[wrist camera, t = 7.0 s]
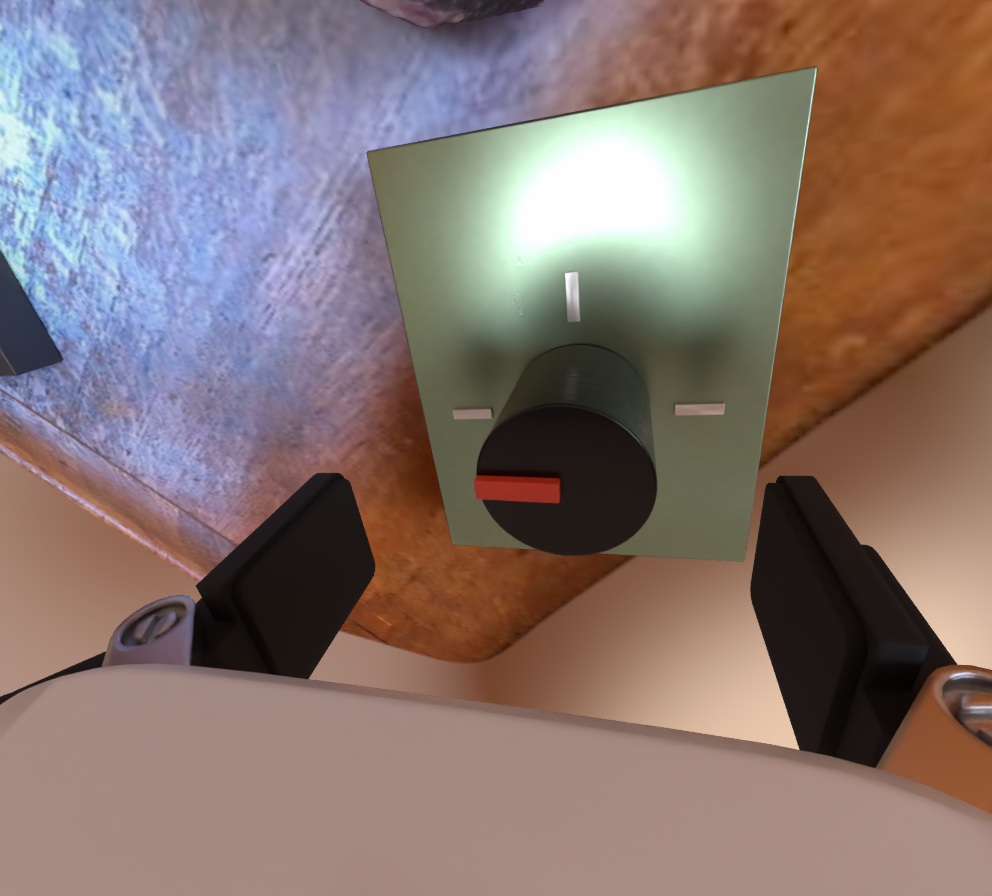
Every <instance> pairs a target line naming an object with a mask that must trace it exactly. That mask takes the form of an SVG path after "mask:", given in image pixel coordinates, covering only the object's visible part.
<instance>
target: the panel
mask: <svg viewBox="0 0 992 896" xmlns="http://www.w3.org/2000/svg"><path fill="white" fill-rule="evenodd" d="M817 71H818V68H817V66H812V67H807V68H802V69H797V70H791V71H786V72H781V73H776V74H770V75H765V76H760V77H755V78H749V79H744V80H739V81H734V82H728V83H723V84H718V85H713V86H707V87H702V88H697V89H691V90H686V91H681V92H676V93H670V94H665V95H660V96H655V97H649V98H644V99H639V100H634V101H628V102H623V103H618V104H613V105H607V106H602V107H597V108H592V109H586V110H581V111H576V112H571V113H565V114H560V115H555V116H550V117H544V118H539V119H534V120H529V121H523V122H518V123H513V124H508V125H502V126H497V127H492V128H487V129H481V130H476V131H471V132H466V133H460V134H455V135H450V136H445V137H439V138H434V139H429V140H424V141H418V142H413V143H408V144H403V145H397V146H392V147H387V148H382V149H376V150H371V151H368V152H367V153H366V154H367V159H368V163H369V168H370V172H371V177H372V181H373V186H374V190H375V195H376V200H377V204H378V209H379V213H380V218H381V222H382V227H383V231H384V236H385V240H386V245H387V250H388V254H389V259H390V263H391V268H392V272H393V277H394V281H395V286H396V290H397V295H398V300H399V304H400V309H401V313H402V318H403V322H404V327H405V331H406V336H407V340H408V345H409V350H410V354H411V359H412V363H413V368H414V372H415V377H416V381H417V386H418V390H419V395H420V400H421V404H422V409H423V413H424V418H425V422H426V427H427V431H428V436H429V440H430V445H431V450H432V454H433V459H434V463H435V468H436V472H437V477H438V481H439V486H440V490H441V495H442V499H443V504H444V509H445V513H446V518H447V522H448V527H449V531H450V536H451V540H452V544H453V545H465V546H482V547H499V548H516V549H533V550H537V549H534V548H532V547H530V546H527V545H525V544H523V543H522V542H520V541H518V540H516V539H515V538H513V537H512V536H511V535H509V534H508V533H507V532H506V531H504V530H503V529H502V528H501V527H500V526H499V525H498V524H497V523H496V522H495V520H494V519H493V518H492V517H491V515H490V514H489V512H488V511H487V509H486V507H485V506H484V504H483V502H482V499H476V493H475V487H474V479H475V478H476V468H477V460H478V456H479V453H480V450H481V448H482V445H483V443H484V442H485V440H486V438H487V436H488V434H489V432H490V431H491V429H492V427H493V425H494V423H495V422H496V420H497V418H498V416H499V414H500V412H501V411H502V409H503V407H504V405H505V403H506V401H507V400H508V398H509V396H510V394H511V392H512V391H513V389H514V387H515V385H516V383H517V381H518V380H519V378H520V376H521V375H522V373H523V372H524V371H525V369H526V368H527V367H528V366H529V365H530V364H531V363H532V362H533V361H534V360H536V359H537V358H539V357H540V356H541V355H543V354H545V353H547V352H549V351H552V350H554V349H557V348H561V347H565V346H572V345H588V346H594V347H598V348H602V349H605V350H608V351H610V352H612V353H615V354H616V355H618V356H619V357H621V358H623V359H624V360H625V361H626V362H628V363H629V364H630V365H631V366H632V367H633V368H634V369H635V370H636V371H637V373H638V374H639V375H640V377H641V378H642V380H643V382H644V384H645V386H646V389H647V392H648V395H649V400H650V408H651V418H652V429H653V439H654V450H655V460H656V471H657V487H658V490H657V497H656V502H655V505H654V508H653V511H652V513H651V514H650V516H649V518H648V520H647V521H646V523H645V524H644V525H643V527H642V528H641V529H640V530H639V531H638V532H637V533H636V534H635V535H634V536H633V537H631V538H630V539H629V540H628V541H626V542H624V543H623V544H621V545H619V546H617V547H615V548H613V549H610V550H608V551H605V552H601V554H618V555H635V556H652V557H669V558H686V559H704V560H720V561H737V562H744V561H745V556H746V550H747V543H748V536H749V529H750V523H751V516H752V509H753V502H754V495H755V489H756V482H757V475H758V469H759V462H760V455H761V448H762V442H763V435H764V428H765V421H766V415H767V408H768V401H769V394H770V388H771V381H772V374H773V367H774V361H775V354H776V347H777V341H778V334H779V327H780V320H781V314H782V307H783V300H784V293H785V287H786V280H787V273H788V266H789V260H790V253H791V246H792V239H793V233H794V226H795V219H796V212H797V206H798V199H799V192H800V185H801V179H802V172H803V165H804V158H805V152H806V145H807V138H808V131H809V125H810V118H811V111H812V104H813V98H814V91H815V84H816V77H817Z"/></svg>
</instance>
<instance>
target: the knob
mask: <svg viewBox="0 0 992 896" xmlns="http://www.w3.org/2000/svg"><path fill="white" fill-rule="evenodd" d="M474 487H475V493H476V499H482V502H483V504H484V506H485V507H486V509H487V511H488V512H489V514H490V515H491V517H492V518H493V519H494V520H495V522H496V523H497V524H498V525H499V526H500V527H501V528H502V529H503V530H504V531H506V532H507V533H508V534H509V535H511V536H512V537H513V538H515V539H516V540H518V541H520V542H522V543H523V544H525V545H527V546H530V547H532V548H534V549H537V550H540V551H543V552H546V553H551V554H555V555H563V556H586V555H593V554H598V553H601V552H605V551H608V550H610V549H613V548H615V547H617V546H619V545H621V544H623V543H624V542H626V541H628V540H629V539H630V538H631V537H633V536H634V535H635V534H636V533H637V532H638V531H639V530H640V529H641V528H642V527H643V525H644V524H645V523H646V521H647V520H648V518H649V516H650V514H651V513H652V511H653V508H654V505H655V502H656V497H657V490H658V487H657V471H656V460H655V450H654V439H653V429H652V418H651V408H650V400H649V395H648V392H647V389H646V386H645V384H644V382H643V380H642V378H641V377H640V375H639V374H638V373H637V371H636V370H635V369H634V368H633V367H632V366H631V365H630V364H629V363H628V362H626V361H625V360H624V359H623V358H621V357H619V356H618V355H616V354H615V353H612V352H610V351H608V350H605V349H602V348H598V347H594V346H588V345H572V346H565V347H561V348H557V349H554V350H552V351H549V352H547V353H545V354H543V355H541V356H540V357H539V358H537V359H536V360H534V361H533V362H532V363H531V364H530V365H529V366H528V367H527V368H526V369H525V371H524V372H523V373H522V375H521V376H520V378H519V380H518V381H517V383H516V385H515V387H514V389H513V391H512V392H511V394H510V396H509V398H508V400H507V401H506V403H505V405H504V407H503V409H502V411H501V412H500V414H499V416H498V418H497V420H496V422H495V423H494V425H493V427H492V429H491V431H490V432H489V434H488V436H487V438H486V440H485V442H484V443H483V445H482V448H481V450H480V453H479V456H478V460H477V468H476V478H475V479H474Z"/></svg>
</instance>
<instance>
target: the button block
mask: <svg viewBox="0 0 992 896" xmlns="http://www.w3.org/2000/svg"><path fill="white" fill-rule="evenodd" d="M61 361H62V358H61V356H60V355H59V353H58V351H57V349H56V348H55V346H54V344H53V342H52V341H51V339H50V337H49V335H48V334H47V332H46V330H45V329H44V327H43V325H42V323H41V322H40V320H39V318H38V316H37V315H36V313H35V311H34V309H33V308H32V306H31V304H30V302H29V301H28V299H27V297H26V295H25V294H24V292H23V290H22V288H21V287H20V285H19V283H18V282H17V280H16V278H15V276H14V275H13V273H12V271H11V269H10V268H9V266H8V264H7V262H6V261H5V259H4V257H3V255H2V254H1V252H0V377H1V376H17V375H21V374H24V373H27V372H30V371H33V370H36V369H39V368H42V367H46V366H49V365H52V364H55V363H58V362H61Z"/></svg>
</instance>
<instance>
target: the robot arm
mask: <svg viewBox="0 0 992 896" xmlns="http://www.w3.org/2000/svg"><path fill="white" fill-rule="evenodd" d="M374 573H375V561H374V558H373V555H372V551H371V548H370V545H369V542H368V538H367V535H366V532H365V529H364V526H363V522H362V519H361V516H360V513H359V509H358V506H357V503H356V500H355V497H354V493H353V490H352V487H351V484H350V482H349V481H348V480H347V479H345V478H344V477H343V476H342V474H339V473H317V474H315V475H314V476H312V477H311V478H310V479H309V480H308V481H307V482H306V483H305V484H304V485H303V486H302V487H301V488H300V489H299V490H298V491H296V492H295V493H294V494H293V495H292V496H291V497H290V498H289V499H288V500H287V501H286V502H285V503H284V504H283V505H281V506H280V507H279V508H278V509H277V510H276V511H275V512H274V513H273V514H272V515H271V516H270V517H269V518H268V519H267V520H265V521H264V522H263V523H262V524H261V525H260V526H259V527H258V528H257V529H256V530H255V531H254V532H253V533H252V534H250V535H249V536H248V537H247V538H246V539H245V540H244V541H243V542H242V543H241V544H240V545H239V546H238V547H237V548H236V549H234V550H233V551H232V552H231V553H230V554H229V555H228V556H227V557H226V558H225V559H224V560H223V561H222V562H221V563H219V564H218V565H217V566H216V567H215V568H214V569H213V570H212V571H211V572H210V573H209V574H208V575H207V576H206V577H205V578H203V579H202V580H201V581H200V582H199V583H198V584H197V585H196V587H197V589H198V591H199V593H200V594H201V596H202V598H201V599H200V600H199V601H198V602H197V603H196V604H195V602H194V600H193V599H191V598H190V597H189V596H184V595H176V596H169V597H166V598H162V599H159V600H157V601H154V602H152V603H150V604H148V605H146V606H144V607H142V608H141V609H139V610H137V611H136V612H134V613H133V614H132V615H130V616H129V617H128V618H126V619H125V620H124V621H123V622H122V623H121V624H120V625H119V626H118V627H117V629H116V630H115V631H114V633H113V635H112V637H111V639H110V642H109V645H108V648H107V651H106V652H103V653H101V654H99V655H96V656H94V657H92V658H90V659H87V660H85V661H83V662H81V663H78V664H76V665H73V666H71V667H69V668H67V669H64V670H62V671H60V672H58V673H55V674H53V675H51V676H48V677H46V678H44V679H41V680H39V681H37V682H35V683H32V684H30V685H27V686H25V687H23V688H21V689H18V690H16V691H14V692H12V693H9V694H6V695H3V696H1V697H0V896H992V670H989V669H985V668H980V667H976V666H972V665H957V663H956V662H955V661H954V659H953V658H952V656H951V655H950V653H949V652H948V651H947V650H946V648H945V647H944V645H943V644H942V642H941V641H940V639H939V638H938V637H937V635H936V634H935V632H934V631H933V630H932V628H931V627H930V625H928V623H927V621H926V620H925V618H924V617H923V616H922V614H921V613H920V611H919V610H918V609H917V607H916V606H915V605H914V603H913V602H912V600H911V599H910V597H909V596H908V595H907V594H906V592H905V590H904V589H903V588H902V586H901V585H900V584H899V582H898V581H897V580H896V578H895V576H894V575H893V574H892V572H891V571H890V570H889V568H888V567H887V565H886V564H885V563H884V561H883V560H882V558H881V557H880V556H879V554H878V553H877V552H876V551H875V550H874V549H873V548H872V547H870V546H868V545H861V544H860V543H859V541H858V540H857V538H856V537H855V535H854V534H853V533H852V531H851V530H850V528H849V527H848V525H847V524H846V522H845V521H844V519H843V518H842V516H841V515H840V513H839V512H838V511H837V509H836V508H835V506H834V505H833V503H832V502H831V501H830V499H829V497H828V496H827V495H826V493H825V492H824V490H823V489H822V487H821V486H820V484H819V483H818V481H817V480H816V479H815V478H814V477H813V476H779V477H778V478H777V480H776V483H768V484H767V485H766V489H765V494H764V501H763V507H762V514H761V520H760V527H759V533H758V540H757V546H756V553H755V559H754V566H753V572H752V579H751V588H750V590H751V591H750V592H751V600H752V604H753V607H754V610H755V613H756V616H757V620H758V623H759V626H760V629H761V632H762V635H763V638H764V641H765V644H766V647H767V650H768V654H769V656H770V660H771V663H772V666H773V669H774V672H775V675H776V678H777V681H778V684H779V688H780V691H781V694H782V697H783V700H784V703H785V706H786V709H787V712H788V715H789V718H790V722H791V725H792V728H793V730H794V734H795V736H796V740H797V743H798V746H799V749H800V750H796V749H791V748H786V747H781V746H776V745H771V744H765V743H758V742H753V741H746V740H739V739H733V738H727V737H721V736H714V735H707V734H701V733H695V732H689V731H682V730H676V729H669V728H663V727H656V726H649V725H641V724H635V723H628V722H620V721H613V720H606V719H598V718H592V717H585V716H577V715H570V714H563V713H556V712H549V711H542V710H535V709H527V708H520V707H513V706H506V705H499V704H491V703H484V702H476V701H469V700H461V699H454V698H446V697H439V696H432V695H424V694H417V693H409V692H402V691H394V690H386V689H379V688H371V687H364V686H356V685H349V684H340V683H333V682H325V681H318V680H310V679H309V677H310V676H311V674H312V672H313V671H314V669H315V667H316V666H317V664H318V663H319V661H320V660H321V658H322V657H323V655H324V653H325V652H326V650H327V649H328V647H329V646H330V644H331V642H332V641H333V639H334V638H335V636H336V634H337V633H338V631H339V630H340V628H341V627H342V625H343V624H344V622H345V620H346V619H347V617H348V616H349V614H350V613H351V611H352V609H353V608H354V606H355V605H356V603H357V601H358V600H359V598H360V597H361V595H362V594H363V592H364V590H365V589H366V587H367V586H368V584H369V583H370V581H371V579H372V578H373V576H374Z"/></svg>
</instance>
